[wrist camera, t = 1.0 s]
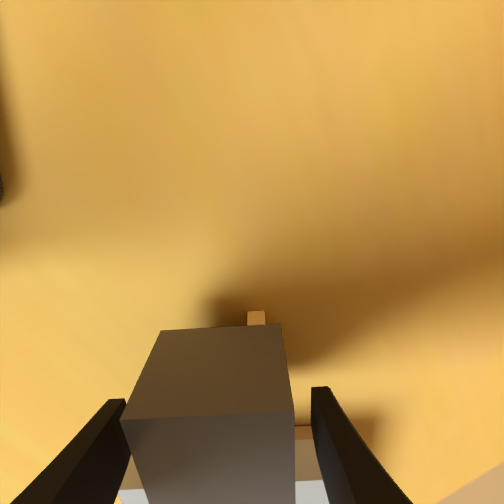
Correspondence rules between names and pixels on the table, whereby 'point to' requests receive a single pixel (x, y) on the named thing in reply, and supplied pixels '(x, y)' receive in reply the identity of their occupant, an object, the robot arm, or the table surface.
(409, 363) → the table surface
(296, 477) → the socket
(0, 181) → the phone case
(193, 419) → the plug
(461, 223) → the table surface
